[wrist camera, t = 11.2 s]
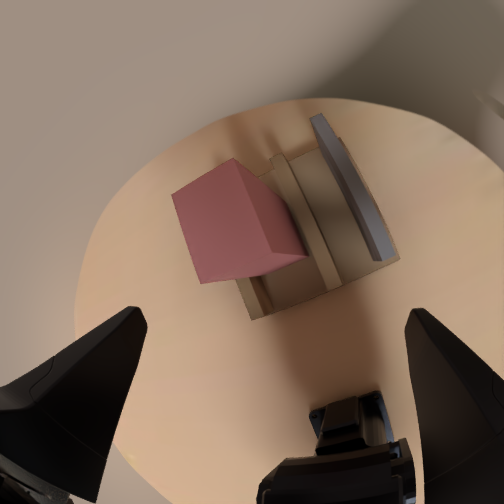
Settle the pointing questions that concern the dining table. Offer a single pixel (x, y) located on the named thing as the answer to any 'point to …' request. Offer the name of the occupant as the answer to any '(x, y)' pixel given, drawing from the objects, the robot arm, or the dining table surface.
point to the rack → (322, 226)
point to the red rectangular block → (236, 225)
